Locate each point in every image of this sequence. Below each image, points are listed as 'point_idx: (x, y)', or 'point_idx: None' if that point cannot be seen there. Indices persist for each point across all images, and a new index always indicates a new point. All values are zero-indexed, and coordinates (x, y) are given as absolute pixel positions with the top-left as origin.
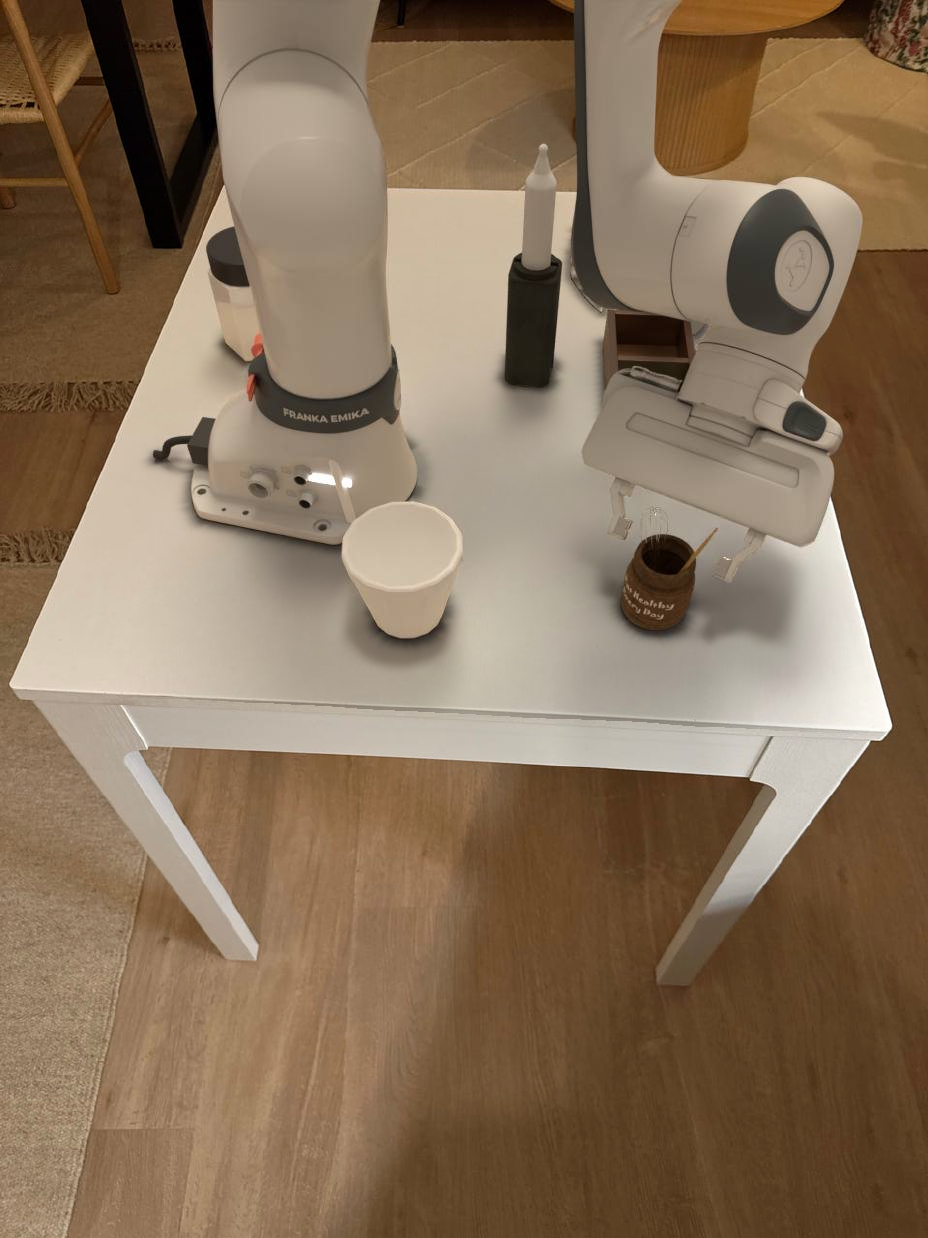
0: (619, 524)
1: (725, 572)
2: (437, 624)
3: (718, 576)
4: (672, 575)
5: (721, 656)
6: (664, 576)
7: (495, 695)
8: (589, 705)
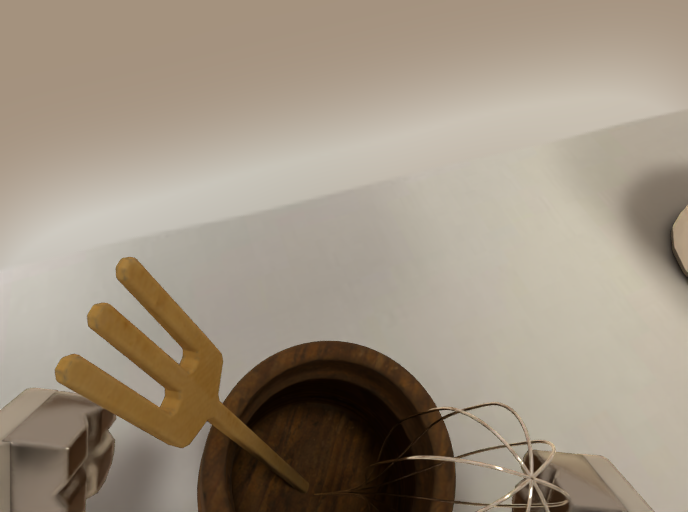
0: (591, 482)
1: (51, 402)
2: (675, 245)
3: None
4: (281, 363)
5: None
6: (308, 345)
7: (499, 169)
8: (352, 195)
